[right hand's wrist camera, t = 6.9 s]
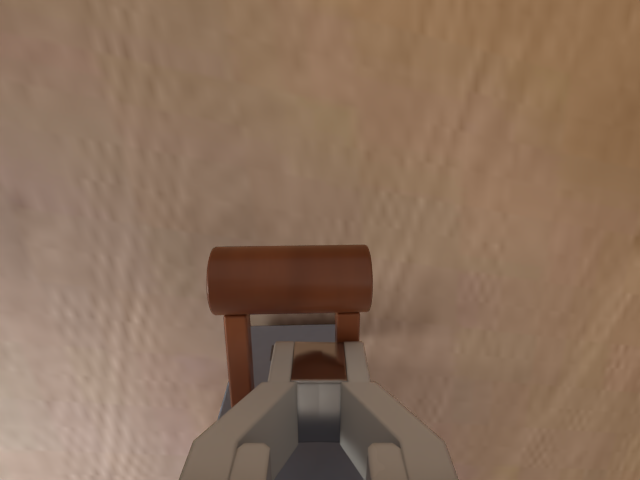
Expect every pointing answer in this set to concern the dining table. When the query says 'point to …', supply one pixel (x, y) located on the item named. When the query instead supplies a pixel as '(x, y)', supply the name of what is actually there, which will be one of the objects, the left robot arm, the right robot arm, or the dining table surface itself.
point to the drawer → (288, 298)
